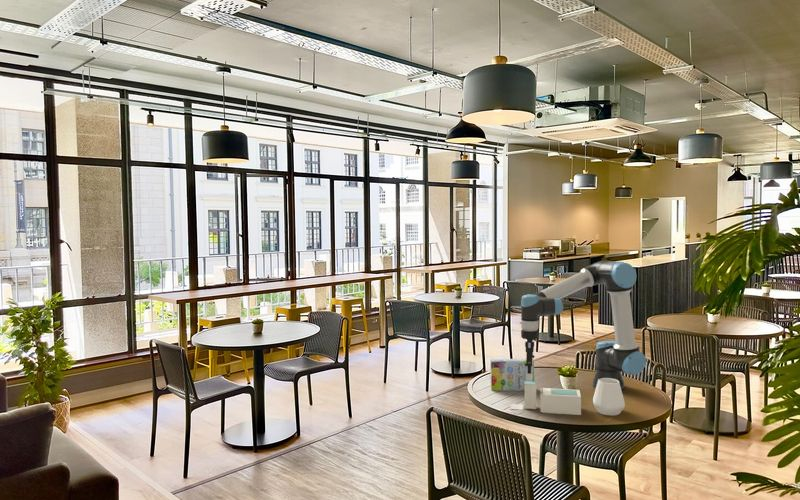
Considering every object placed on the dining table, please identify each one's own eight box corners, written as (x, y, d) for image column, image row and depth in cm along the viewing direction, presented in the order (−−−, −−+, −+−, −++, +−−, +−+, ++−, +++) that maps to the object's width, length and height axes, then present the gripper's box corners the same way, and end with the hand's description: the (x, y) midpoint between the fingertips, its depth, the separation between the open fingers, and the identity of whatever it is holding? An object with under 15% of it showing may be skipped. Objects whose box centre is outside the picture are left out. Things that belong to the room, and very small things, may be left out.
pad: (523, 405, 256) (523, 404, 256) (522, 410, 249) (522, 409, 249) (511, 404, 257) (511, 403, 257) (510, 409, 250) (510, 408, 250)
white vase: (631, 415, 240) (631, 383, 239) (605, 418, 236) (605, 386, 235) (611, 405, 253) (611, 375, 252) (586, 408, 249) (586, 378, 248)
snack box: (532, 387, 281) (532, 358, 280) (534, 391, 276) (534, 361, 275) (490, 387, 283) (490, 358, 282) (491, 390, 278) (490, 361, 277)
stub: (536, 405, 253) (536, 381, 252) (536, 409, 249) (535, 384, 248) (524, 405, 254) (524, 381, 254) (524, 408, 250) (524, 383, 249)
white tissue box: (579, 407, 251) (579, 389, 250) (581, 415, 241) (581, 396, 241) (540, 405, 255) (540, 387, 255) (540, 412, 245) (540, 394, 245)
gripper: (522, 324, 262) (522, 368, 264) (520, 334, 238) (520, 383, 239) (538, 324, 261) (538, 369, 262) (538, 335, 236) (537, 384, 238)
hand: (529, 376), depth 251 cm, fingers open, 13 cm apart
